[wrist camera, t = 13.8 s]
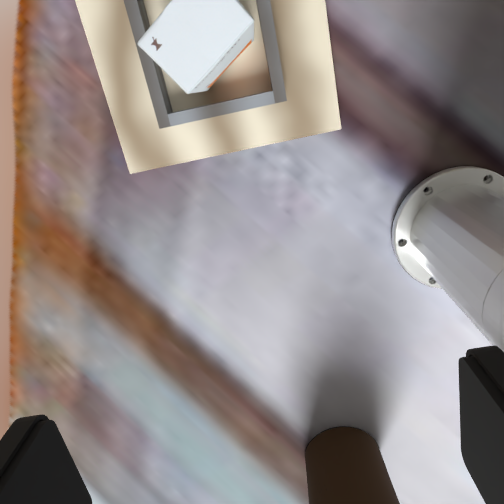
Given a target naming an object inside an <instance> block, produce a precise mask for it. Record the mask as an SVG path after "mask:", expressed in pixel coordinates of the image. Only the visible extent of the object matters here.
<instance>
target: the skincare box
mask: <svg viewBox="0 0 504 504" xmlns="http://www.w3.org/2000/svg"><path fill="white" fill-rule="evenodd" d="M253 41H254V19H253V17H252V16H251V15H250V14H249V12H248V11H247V10H246V9H245V7H244V6H243V5H242V4H241V2H240V1H239V0H171V1H170V2H169V3H168V5H167V6H166V7H165V9H164V10H163V12H162V13H161V14H160V15H159V16H158V18H157V19H156V20H155V21H154V22H153V24H152V25H151V26H150V27H149V29H148V30H147V31H146V32H145V34H144V35H143V36H142V37H141V38H140V40H139V41H138V46H139V47H140V48H141V49H142V50H144V51H145V52H146V53H147V54H148V55H149V56H150V57H151V58H152V59H153V60H154V61H155V62H156V63H157V64H158V65H159V66H160V67H161V68H162V69H163V70H164V71H165V72H166V73H167V74H168V75H169V76H170V77H171V78H172V79H173V80H174V81H175V82H176V83H177V84H178V85H179V87H180V88H181V89H182V90H183V91H184V92H185V93H187V94H190V93H197V92H204V91H208V90H209V89H210V87H211V86H212V85H213V84H214V83H215V82H216V81H217V79H218V78H219V77H220V76H221V75H222V74H223V73H224V72H225V71H226V69H227V68H228V67H229V66H230V65H231V64H232V63H233V62H234V61H235V60H236V59H237V58H238V57H239V55H240V54H241V53H242V52H243V51H244V50H245V49H246V48H247V47H248V46H249V45H250V44H251V43H252V42H253Z"/></svg>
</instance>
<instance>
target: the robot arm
mask: <svg viewBox="0 0 504 504" xmlns="http://www.w3.org/2000/svg"><path fill="white" fill-rule="evenodd" d="M485 176H486V178H485V179H484V177H485ZM483 179H484V180H483ZM426 187H427V190H426V191H424V189H425V188H426ZM400 239H402V241H400V242H398V241H399V240H400ZM392 245H393V249H394V253H395V256H396V257H397V259H398V261H399V263H400V265H401V266H402V267H403V269H404V270H405V271H406V272H407V273H408V274H409V275H410V276H411V277H412V278H414V279H415V280H417V281H418V282H420V283H422V284H424V285H427V286H429V287H433V288H439V289H443V290H444V291H445V292H446V293H447V294H448V296H449V297H450V298H451V299H452V300H453V301H454V302H455V303H456V305H457V306H458V307H459V308H460V309H461V310H462V311H463V312H464V314H465V315H466V316H467V317H468V318H469V319H470V320H471V321H472V323H473V324H474V325H475V326H476V327H477V328H478V329H479V331H480V332H481V333H482V334H483V335H484V336H485V337H486V338H487V340H488V341H489V342H490V343H491V344H492V345H493V346H488V347H481V348H474V349H469V350H467V352H466V357H462V358H460V359H459V392H460V429H461V452H462V457H463V460H464V463H465V465H466V467H467V469H468V471H469V473H470V475H471V477H472V479H473V481H474V483H475V484H476V486H477V488H478V490H479V492H480V494H481V496H482V498H483V499H484V501H485V503H486V504H504V177H503V176H501V175H499V174H497V173H496V172H493V171H490V170H488V169H485V168H480V167H474V166H459V167H454V168H449V169H445V170H443V171H440V172H438V173H435V174H433V175H431V176H430V177H428V178H426V179H425V180H423V181H422V182H421V183H419V184H418V185H417V186H416V187H415V188H413V189H412V190H411V192H410V193H409V194H408V195H407V196H406V197H405V199H404V200H403V202H402V204H401V205H400V207H399V209H398V210H397V213H396V216H395V219H394V221H393V227H392ZM0 504H92V499H91V496H90V494H89V492H88V490H87V488H86V486H85V484H84V482H83V480H82V478H81V476H80V474H79V471H78V469H77V467H76V465H75V463H74V461H73V459H72V457H71V455H70V453H69V451H68V449H67V446H66V444H65V442H64V440H63V438H62V436H61V434H60V432H59V430H58V428H57V426H56V424H55V422H54V421H53V420H49V419H48V417H47V416H45V415H35V416H29V417H22V418H19V419H16V420H15V421H14V422H13V424H12V425H11V426H10V428H9V429H8V430H7V432H6V433H5V435H4V436H3V437H2V439H1V440H0Z"/></svg>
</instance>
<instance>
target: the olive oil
mask: <svg viewBox="0 0 504 504" xmlns="http://www.w3.org/2000/svg"><path fill="white" fill-rule="evenodd" d="M305 460H306V472H307V483H308V495H309V504H400V503H399V501H398V498H397V496H396V493H395V490H394V488H393V485H392V483H391V480H390V477H389V474H388V472H387V469H386V466H385V463H384V461H383V458H382V455H381V452H380V450H379V447H378V445H377V443H376V441H375V440H374V439H373V437H372V436H370V435H369V434H368V433H366V432H364V431H362V430H360V429H357V428H352V427H336V428H332V429H328V430H326V431H324V432H322V433H320V434H318V435H317V436H316V437H315V438H314V439H313V440H312V441H311V442H310V443H309V445H308V447H307V449H306V454H305Z"/></svg>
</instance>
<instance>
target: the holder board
mask: <svg viewBox="0 0 504 504" xmlns="http://www.w3.org/2000/svg"><path fill="white" fill-rule="evenodd" d="M75 1H76V5H77V8H78V11H79V14H80V17H81V20H82V24H83V27H84V30H85V33H86V36H87V39H88V42H89V46H90V49H91V52H92V55H93V58H94V61H95V65H96V68H97V71H98V74H99V77H100V80H101V83H102V87H103V90H104V93H105V96H106V99H107V102H108V106H109V109H110V112H111V115H112V118H113V121H114V125H115V128H116V131H117V134H118V137H119V140H120V143H121V147H122V150H123V153H124V156H125V159H126V162H127V166H128V169H129V172H130V174H132V173H136V172H141V171H146V170H151V169H155V168H160V167H165V166H170V165H174V164H179V163H184V162H189V161H193V160H198V159H203V158H207V157H212V156H217V155H222V154H226V153H231V152H236V151H241V150H245V149H250V148H255V147H260V146H264V145H269V144H274V143H278V142H283V141H288V140H293V139H297V138H302V137H307V136H312V135H316V134H321V133H326V132H331V131H335V130H340V129H341V123H340V115H339V107H338V99H337V91H336V83H335V75H334V67H333V60H332V52H331V44H330V36H329V28H328V20H327V12H326V4H325V0H239V1H240V2H241V4H242V5H243V6H244V7H245V9H246V10H247V11H248V12H249V14H250V15H251V16H252V17H253V19H254V41H253V42H252V43H251V44H250V45H249V46H248V47H247V48H246V49H245V50H244V51H243V52H242V53H241V54H240V55H239V57H238V58H237V59H236V60H235V61H234V62H233V63H232V64H231V65H230V66H229V67H228V68H227V69H226V71H225V72H224V73H223V74H222V75H221V76H220V77H219V78H218V79H217V81H216V82H215V83H214V84H213V85H212V86H211V87H210V89H209V90H208V91H204V92H197V93H190V94H187V93H185V92H184V91H183V90H182V89H181V88H180V87H179V85H178V84H177V83H176V82H175V81H174V80H173V79H172V78H171V77H170V76H169V75H168V74H167V73H166V72H165V71H164V70H163V69H162V68H161V67H160V66H159V65H158V64H157V63H156V62H155V61H154V60H153V59H152V58H151V57H150V56H149V55H148V54H147V53H146V52H145V51H144V50H142V49H141V48H140V47H139V46H138V41H139V40H140V38H141V37H142V36H143V35H144V34H145V32H146V31H147V30H148V29H149V27H150V26H151V25H152V24H153V22H154V21H155V20H156V19H157V18H158V16H159V15H160V14H161V13H162V12H163V10H164V9H165V7H166V6H167V5H168V3H169V2H170V1H171V0H75Z"/></svg>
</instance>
